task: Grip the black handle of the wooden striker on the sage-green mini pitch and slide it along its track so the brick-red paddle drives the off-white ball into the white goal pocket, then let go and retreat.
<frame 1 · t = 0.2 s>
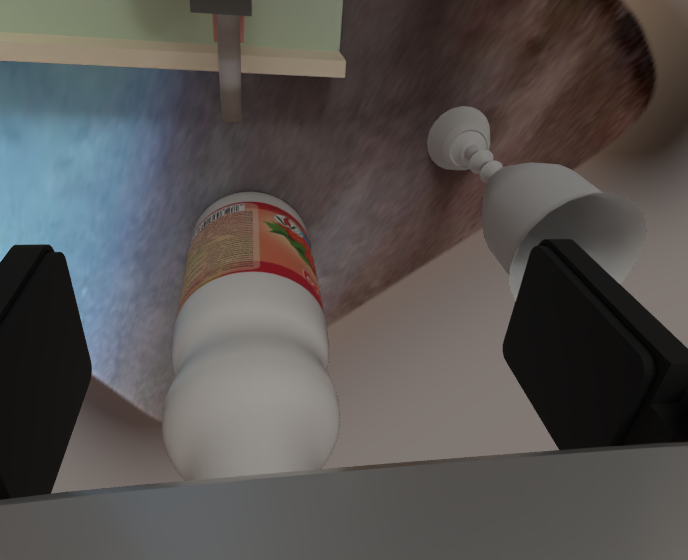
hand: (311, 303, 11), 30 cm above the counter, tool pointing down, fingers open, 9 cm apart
chalice: (457, 138, 41), on the counter
fruit juice: (251, 239, 44), on the counter
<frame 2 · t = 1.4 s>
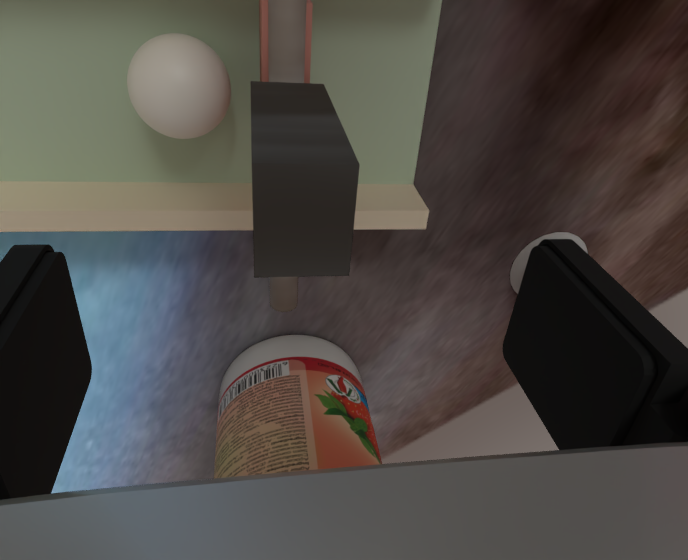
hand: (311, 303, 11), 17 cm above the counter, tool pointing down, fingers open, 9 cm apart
ball: (180, 87, 21), point 3 cm above the counter, touching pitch
striker: (287, 131, 18), point 8 cm above the counter, slide at 0.0 cm
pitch: (68, 65, 23), on the counter
chalice: (547, 265, 34), on the counter
fruit juice: (290, 381, 36), on the counter
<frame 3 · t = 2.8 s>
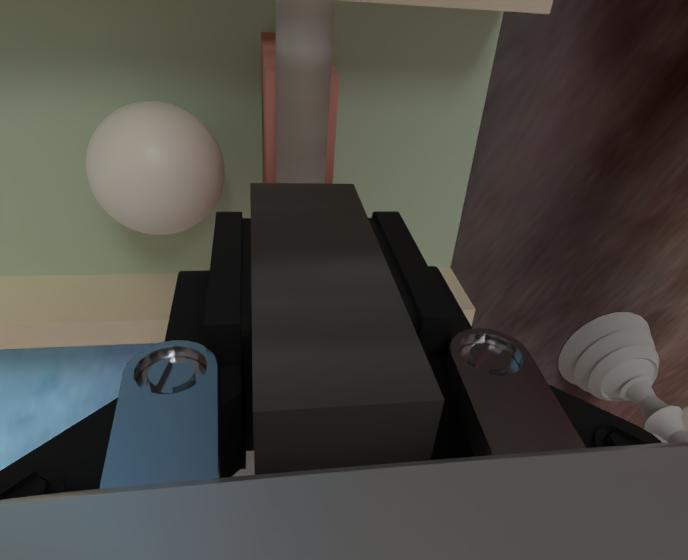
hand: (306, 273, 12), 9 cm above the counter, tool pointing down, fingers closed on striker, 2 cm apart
ball: (158, 169, 16), point 3 cm above the counter, touching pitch
striker: (302, 248, 13), point 8 cm above the counter, slide at 0.0 cm, touching gripper
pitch: (15, 134, 18), on the counter
chalice: (602, 348, 28), on the counter
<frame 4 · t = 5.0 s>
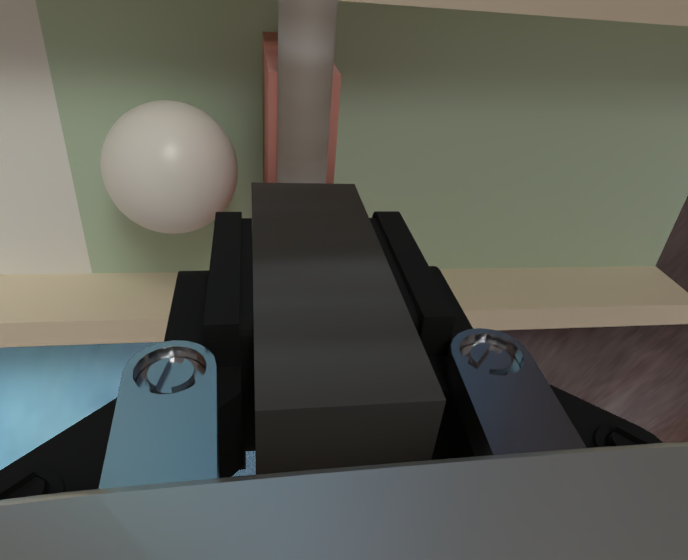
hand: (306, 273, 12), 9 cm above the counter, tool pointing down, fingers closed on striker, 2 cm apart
ball: (171, 168, 16), point 3 cm above the counter, tilted 92°, touching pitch
striker: (302, 248, 13), point 8 cm above the counter, slide at 9.8 cm, touching gripper
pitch: (306, 140, 20), on the counter
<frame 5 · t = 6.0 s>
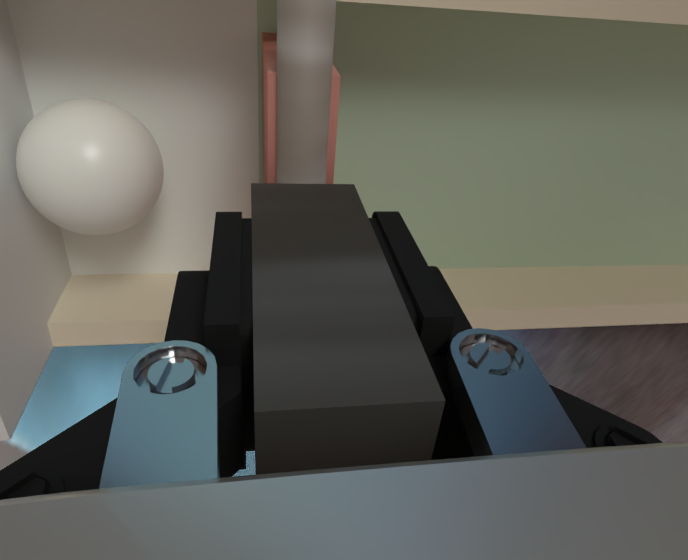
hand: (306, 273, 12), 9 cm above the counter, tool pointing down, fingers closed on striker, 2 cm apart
ball: (93, 168, 16), point 3 cm above the counter, tilted 152°, touching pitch
striker: (302, 248, 13), point 8 cm above the counter, slide at 16.1 cm, touching gripper
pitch: (467, 145, 21), on the counter
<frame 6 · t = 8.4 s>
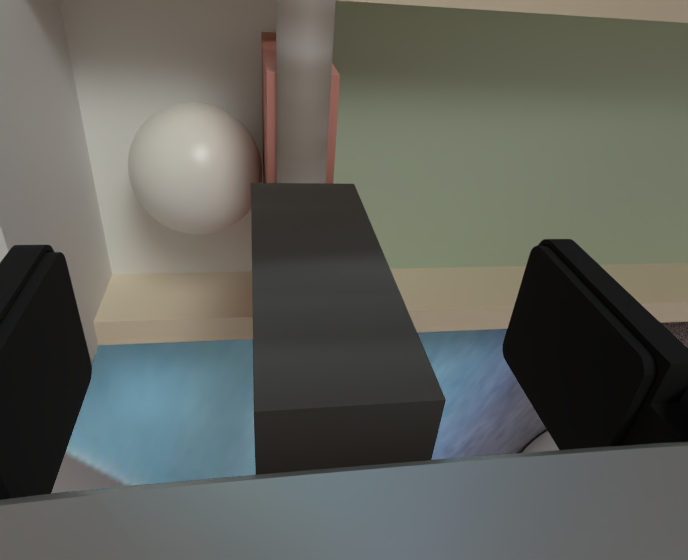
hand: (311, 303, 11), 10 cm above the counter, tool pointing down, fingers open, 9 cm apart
ball: (197, 169, 16), point 3 cm above the counter, tilted 106°, touching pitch
striker: (302, 248, 13), point 8 cm above the counter, slide at 17.5 cm
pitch: (501, 144, 21), on the counter
fruit juice: (576, 457, 33), on the counter
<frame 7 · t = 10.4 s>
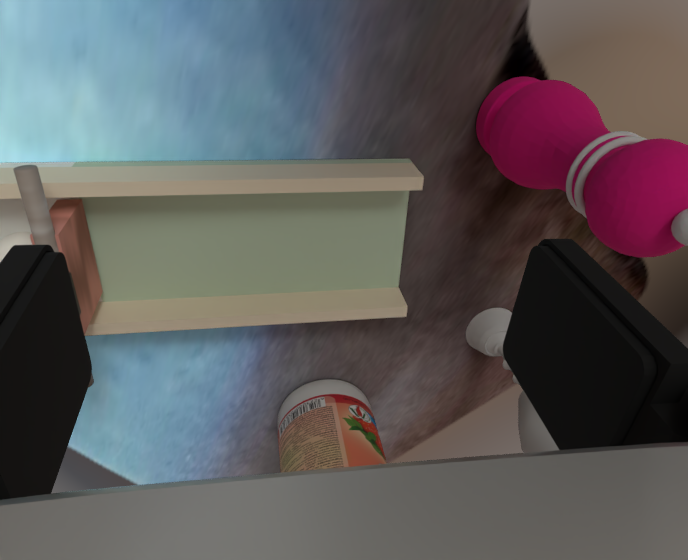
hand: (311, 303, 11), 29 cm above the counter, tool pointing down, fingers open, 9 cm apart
ball: (24, 260, 37), point 3 cm above the counter, tilted 119°, touching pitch
striker: (54, 297, 33), point 8 cm above the counter, slide at 17.5 cm
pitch: (201, 235, 41), on the counter
chalice: (489, 328, 51), on the counter
fruit juice: (323, 410, 53), on the counter
pepper mill: (513, 118, 41), on the counter
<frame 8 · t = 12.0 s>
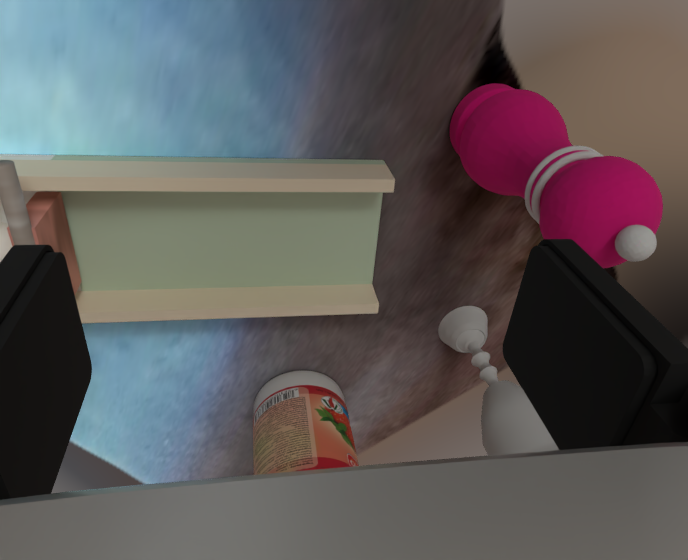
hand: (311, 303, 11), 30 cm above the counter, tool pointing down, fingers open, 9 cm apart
striker: (30, 287, 34), point 8 cm above the counter, slide at 17.5 cm
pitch: (179, 229, 42), on the counter
chalice: (462, 325, 53), on the counter
fruit juice: (298, 400, 55), on the counter
pepper mill: (486, 123, 42), on the counter
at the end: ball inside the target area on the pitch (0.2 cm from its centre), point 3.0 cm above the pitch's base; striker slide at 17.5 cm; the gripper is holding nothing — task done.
